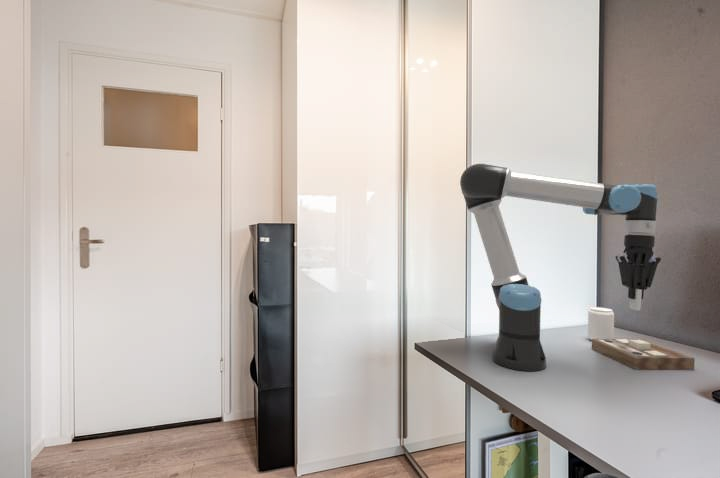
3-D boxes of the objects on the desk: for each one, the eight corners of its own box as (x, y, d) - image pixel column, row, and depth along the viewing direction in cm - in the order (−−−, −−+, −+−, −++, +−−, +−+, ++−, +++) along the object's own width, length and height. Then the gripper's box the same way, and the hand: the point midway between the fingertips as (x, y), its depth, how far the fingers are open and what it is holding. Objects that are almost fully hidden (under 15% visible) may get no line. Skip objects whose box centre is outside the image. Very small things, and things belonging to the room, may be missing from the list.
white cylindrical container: (618, 344, 131) (619, 311, 131) (596, 343, 131) (597, 311, 131) (604, 337, 139) (604, 306, 139) (583, 337, 139) (583, 306, 139)
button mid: (638, 354, 114) (638, 343, 114) (628, 350, 118) (628, 339, 118) (650, 354, 114) (650, 343, 114) (639, 349, 118) (640, 339, 118)
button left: (623, 352, 120) (623, 342, 120) (614, 349, 124) (614, 339, 124) (634, 352, 120) (635, 342, 120) (625, 349, 124) (625, 339, 124)
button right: (654, 366, 108) (654, 355, 108) (643, 361, 112) (643, 350, 112) (666, 366, 108) (667, 355, 108) (655, 361, 112) (655, 350, 112)
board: (635, 369, 106) (635, 357, 106) (591, 348, 125) (591, 338, 125) (694, 369, 107) (694, 356, 107) (641, 348, 126) (642, 338, 126)
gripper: (628, 233, 109) (623, 311, 109) (670, 235, 109) (665, 312, 110) (610, 233, 116) (606, 306, 117) (650, 235, 116) (645, 307, 117)
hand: (634, 309), depth 113 cm, fingers closed
